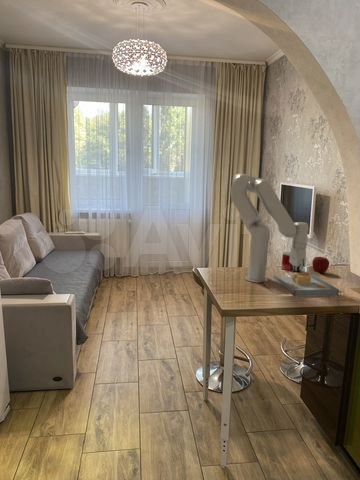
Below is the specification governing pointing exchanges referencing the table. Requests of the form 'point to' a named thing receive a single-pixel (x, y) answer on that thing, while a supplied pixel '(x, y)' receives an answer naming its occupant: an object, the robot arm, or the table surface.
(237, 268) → the table surface
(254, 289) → the table surface
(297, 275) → the block
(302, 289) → the grey tray
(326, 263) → the apple
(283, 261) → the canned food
